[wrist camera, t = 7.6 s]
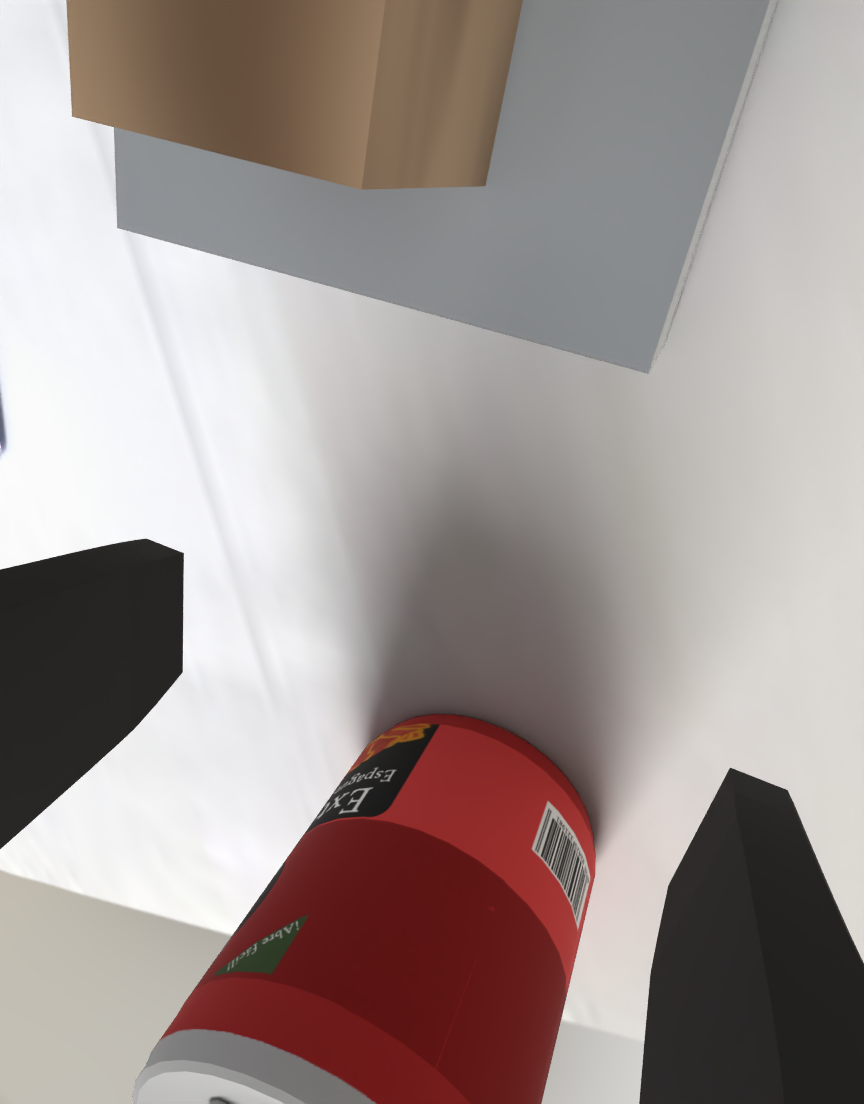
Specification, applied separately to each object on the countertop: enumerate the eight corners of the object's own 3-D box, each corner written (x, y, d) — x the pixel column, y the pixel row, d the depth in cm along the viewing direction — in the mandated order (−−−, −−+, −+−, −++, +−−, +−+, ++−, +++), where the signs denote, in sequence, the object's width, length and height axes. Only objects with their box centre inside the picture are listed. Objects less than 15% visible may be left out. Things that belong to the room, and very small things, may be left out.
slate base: (189, 222, 19) (117, 228, 17) (195, -359, 14) (94, -455, 12) (663, 348, 16) (648, 373, 14) (887, -331, 11) (916, -450, 9)
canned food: (402, 661, 22) (150, 999, 13) (651, 800, 21) (564, 1280, 12) (337, 816, 26) (109, 1157, 17) (541, 940, 25) (414, 1379, 16)
